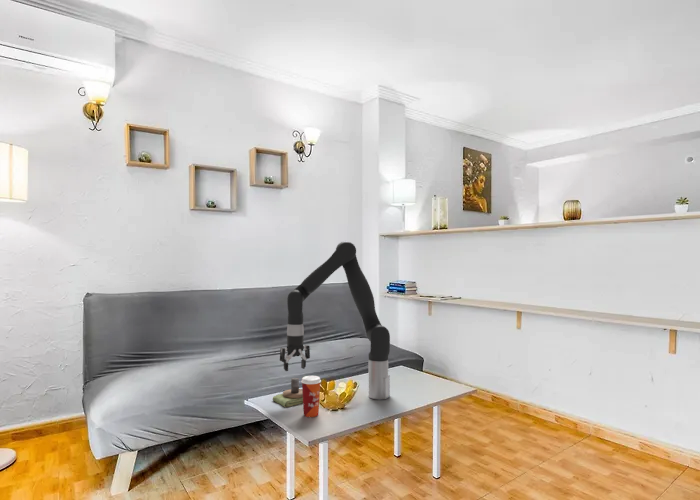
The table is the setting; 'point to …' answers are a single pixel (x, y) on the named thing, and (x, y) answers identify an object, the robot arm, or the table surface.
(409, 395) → the table surface
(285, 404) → the washcloth
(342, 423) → the table surface
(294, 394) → the walnut lid
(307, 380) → the coffee cup
